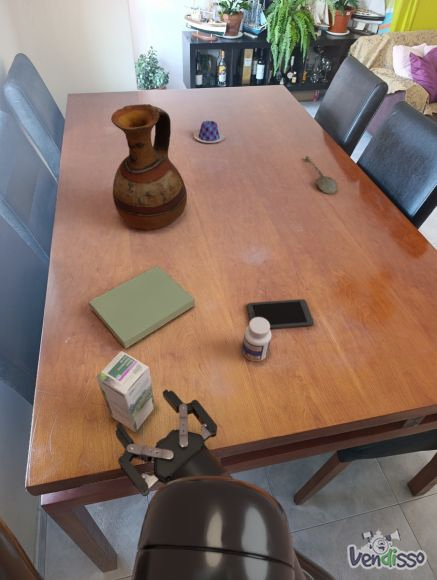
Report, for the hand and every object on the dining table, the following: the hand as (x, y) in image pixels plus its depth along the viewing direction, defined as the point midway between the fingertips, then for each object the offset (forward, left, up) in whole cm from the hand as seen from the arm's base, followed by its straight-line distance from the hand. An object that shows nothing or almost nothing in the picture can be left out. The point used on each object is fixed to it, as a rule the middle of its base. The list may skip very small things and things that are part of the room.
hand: (142, 409), depth 59 cm
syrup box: (0, +4, -9) cm, 10 cm away
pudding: (+82, +78, -9) cm, 114 cm away
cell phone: (+37, +2, -9) cm, 38 cm away
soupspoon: (+93, +35, -9) cm, 99 cm away
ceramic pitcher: (+37, +51, -9) cm, 64 cm away
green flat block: (+15, +23, -9) cm, 29 cm away
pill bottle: (+26, -1, -9) cm, 27 cm away
